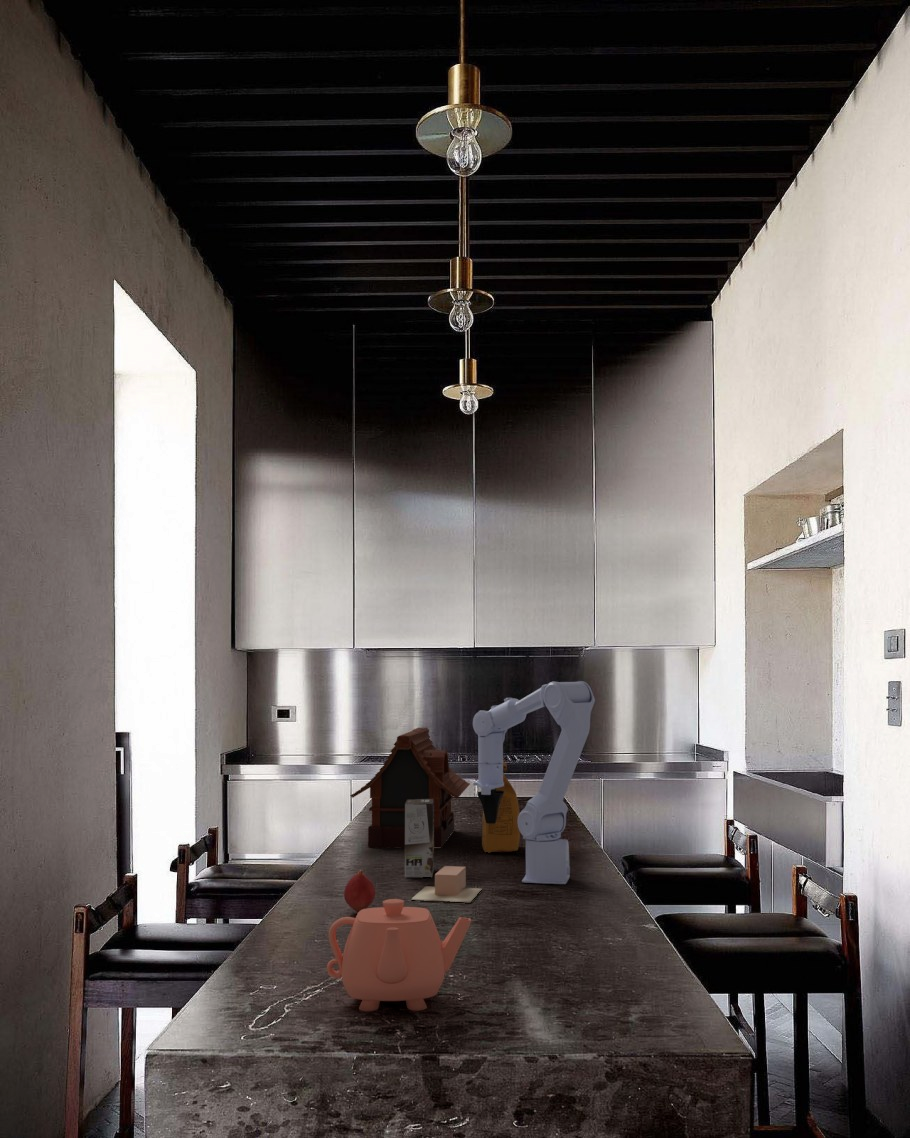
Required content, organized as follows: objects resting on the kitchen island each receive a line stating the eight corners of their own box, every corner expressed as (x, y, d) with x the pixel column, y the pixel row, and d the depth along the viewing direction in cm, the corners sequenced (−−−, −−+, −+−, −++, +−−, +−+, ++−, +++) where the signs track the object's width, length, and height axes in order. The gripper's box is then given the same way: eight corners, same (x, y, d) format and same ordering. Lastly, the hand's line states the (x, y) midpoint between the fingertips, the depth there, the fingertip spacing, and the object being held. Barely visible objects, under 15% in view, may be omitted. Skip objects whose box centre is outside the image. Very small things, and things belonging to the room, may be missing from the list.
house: (458, 850, 257) (457, 735, 260) (348, 849, 260) (349, 734, 263) (471, 829, 291) (471, 727, 294) (374, 828, 294) (374, 727, 297)
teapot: (476, 997, 142) (475, 898, 143) (393, 1031, 129) (393, 922, 130) (392, 975, 152) (391, 883, 153) (307, 1005, 139) (308, 904, 140)
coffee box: (433, 878, 223) (432, 803, 225) (403, 878, 223) (403, 803, 225) (434, 869, 232) (434, 798, 234) (406, 869, 232) (406, 798, 234)
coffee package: (522, 846, 263) (521, 760, 265) (520, 854, 250) (519, 764, 253) (484, 845, 264) (483, 759, 266) (479, 854, 251) (479, 764, 254)
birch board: (481, 890, 210) (481, 888, 210) (470, 903, 198) (470, 901, 198) (425, 888, 213) (425, 886, 213) (411, 901, 201) (411, 898, 201)
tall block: (465, 866, 213) (456, 875, 204) (465, 886, 212) (456, 895, 204) (444, 866, 214) (434, 874, 205) (444, 885, 213) (434, 894, 205)
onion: (338, 914, 190) (338, 871, 191) (355, 908, 195) (355, 865, 196) (364, 918, 187) (364, 873, 188) (380, 911, 192) (380, 868, 193)
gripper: (478, 760, 242) (479, 818, 241) (467, 765, 228) (468, 827, 227) (508, 760, 241) (508, 818, 239) (498, 766, 227) (499, 828, 225)
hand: (491, 823), depth 233 cm, fingers closed
